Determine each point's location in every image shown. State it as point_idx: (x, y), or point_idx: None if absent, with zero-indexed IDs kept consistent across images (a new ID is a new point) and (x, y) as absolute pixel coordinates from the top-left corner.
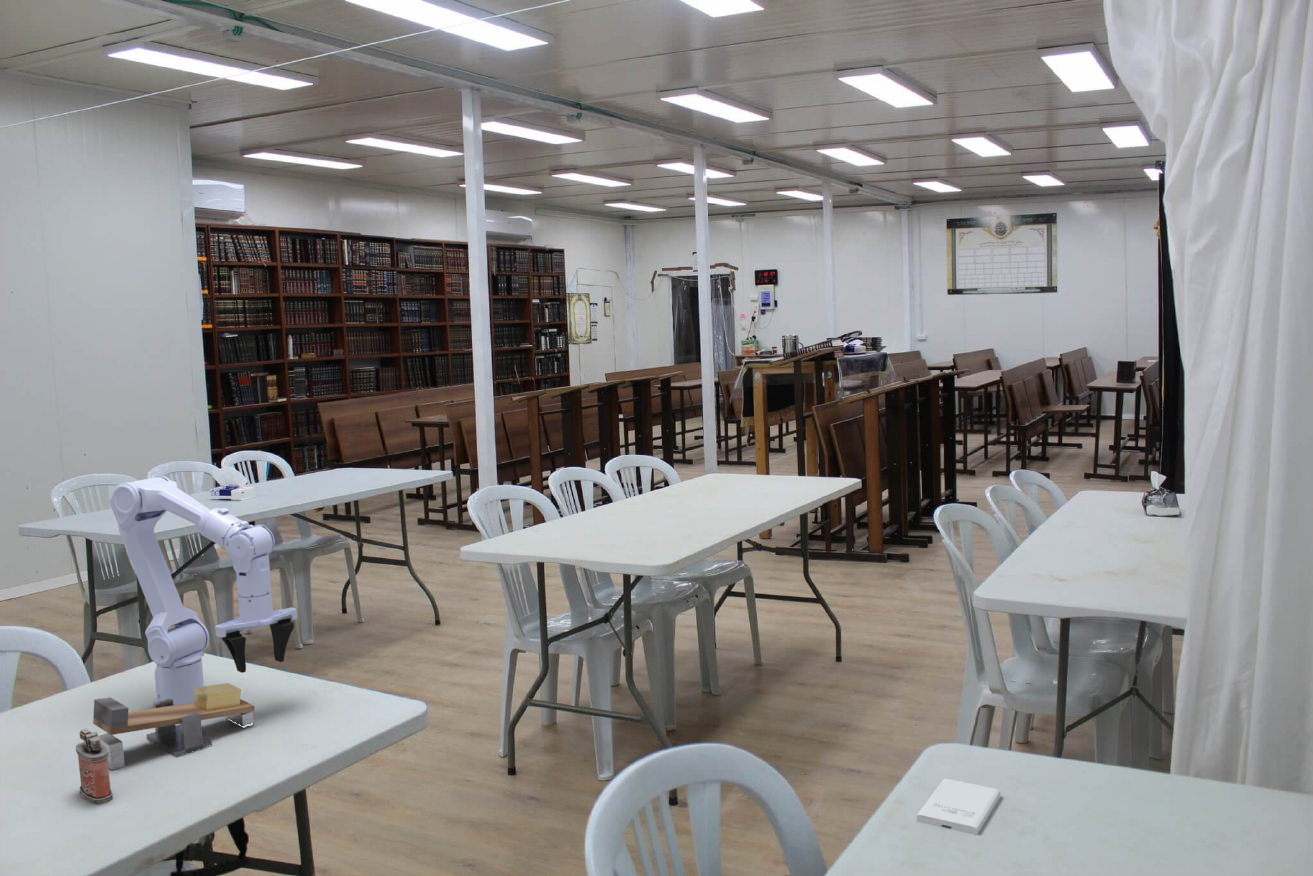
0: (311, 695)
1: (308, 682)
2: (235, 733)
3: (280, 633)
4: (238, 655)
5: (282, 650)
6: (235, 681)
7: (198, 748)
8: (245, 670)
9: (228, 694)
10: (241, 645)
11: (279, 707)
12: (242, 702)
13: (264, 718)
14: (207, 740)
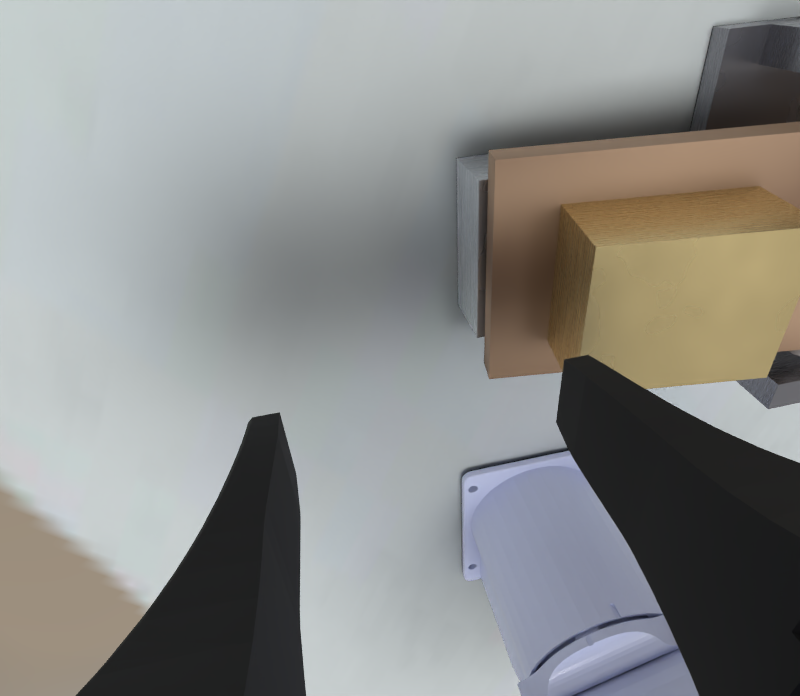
0: (94, 362)
1: (81, 507)
2: (563, 113)
3: (266, 659)
4: (721, 434)
5: (257, 478)
6: (322, 613)
7: (781, 19)
8: (571, 363)
9: (670, 228)
10: (792, 497)
11: (276, 307)
12: (514, 261)
13: (382, 214)
14: (731, 58)
